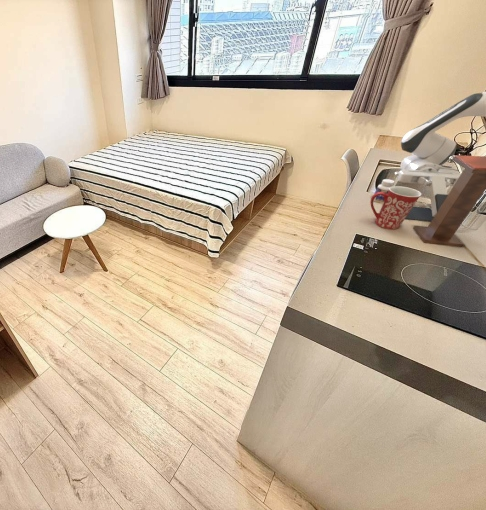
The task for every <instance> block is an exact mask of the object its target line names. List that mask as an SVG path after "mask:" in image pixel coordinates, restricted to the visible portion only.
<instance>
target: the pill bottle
mask: <svg viewBox="0 0 486 510" xmlns="http://www.w3.org/2000/svg"><path fill="white" fill-rule="evenodd" d="M394 184H395V180H393V179H388V178H384V179H382V180H381V183H379V184H378V186H377V187H376V189H375V190H374V193H373V195H374V194H375V193H377V192H383V193H386V194H388V191H389V188H390V187H393V186H395V185H394ZM373 202H375V203H379V204H383V203H384V197H383V195H378V196H376V197H375V198H374V201H373Z"/></svg>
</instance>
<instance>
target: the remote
mask: <svg viewBox="0 0 486 510" xmlns="http://www.w3.org/2000/svg"><path fill="white" fill-rule="evenodd" d="M428 180H431V181H432V183H431V185H430V186H428V190H429V200H430V206H431V207H430V209H431V210H432V216H433V217H434V216H435V215H436V213H437V212H438V210H439V208H440V207H441V205H442V204H443V202H444V200H445V199H446V197H447V196H448V190H447V187H446V183H445V176H432V175H431V176H430V177H429V178H428Z"/></svg>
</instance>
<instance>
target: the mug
mask: <svg viewBox="0 0 486 510" xmlns="http://www.w3.org/2000/svg"><path fill="white" fill-rule="evenodd" d="M374 193H375V192H374ZM374 193H373V195H372V196H371V199H370V208H371V211H372V212H373V215H374V217H375V218H376V219H375V224H376V226H379V227H380V228H383V229H387V230H398V229H399V228H400V227H401V226H402V224H403V222H404V221H405V220H406V219H405V218H406V216H407V215H408V213H409V212H410V210H411V209H412V207H413V206H414V207H415V204H416V203H417V202H418V200H419V198H420V197H421V196H422V192H421V191H419V190H418V189H414V188H412V187H407V186H399V185H393V187H390V188H389V191H388V194H386V193H383V192H377V193H375V194H374ZM378 195H383V197H384V203H382V205H381V208H380V210H379V212H377V210H376V209H375V205H374V202H375V201H374V198H375V197H376V196H378Z"/></svg>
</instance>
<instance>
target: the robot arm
mask: <svg viewBox="0 0 486 510" xmlns="http://www.w3.org/2000/svg"><path fill="white" fill-rule="evenodd" d="M466 117H485V118H486V91H482V92H478V93H477V92H476V93H472V94H470V95H468V96H466V97H464V98H463V99H461V100H460V101H458V102H456V103H455V104H453V105H451V106H450V107H448V108H446V109H445V110H443V111H442V112H440V113H439V114H437V115H436V116H434V117H432V118H430V119H429V120H427V121H426V122H423V123H422V124H420V125H418V126H416V127H414V128H412V129H410V130H409V131H407V133H405V135H403V137H402V138H401V140H400V147H401V151H404V152H407V153H409V154H410V155H408V156H406V157H404V158H403V159H402V161H401V162H400V170H398V171H395V172H394V175H395V176H396V179H397V181H398V182H399V183H402V184H403V183H404V184H415V185H417V186H426V187H427V186H428V187H429V186H430V185H431V183H432V181H431V180H428V178H429V177H430V176H431V175H432V176H445V183H446V188H449V187H453V186H454V185H455V183H456V181H457V180H458V178H459V177H460V173H459V172H460V171H458V170H456V167H454V166H450V165H444V164H446V163H447V162H448V161H449V160H450V159H449V157H450V156H452V157H454V156H455V153H456V150H457V145H458V144H457V142H456V141H454V140H453V139H451V138H449V137H447V136H444V135H441V134H439V133H438V131H439V130H441V129H442V128H444V127H445V126H448V125H449V124H451V123H452V122H455V121H456V120H458V119H462V118H466Z"/></svg>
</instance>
